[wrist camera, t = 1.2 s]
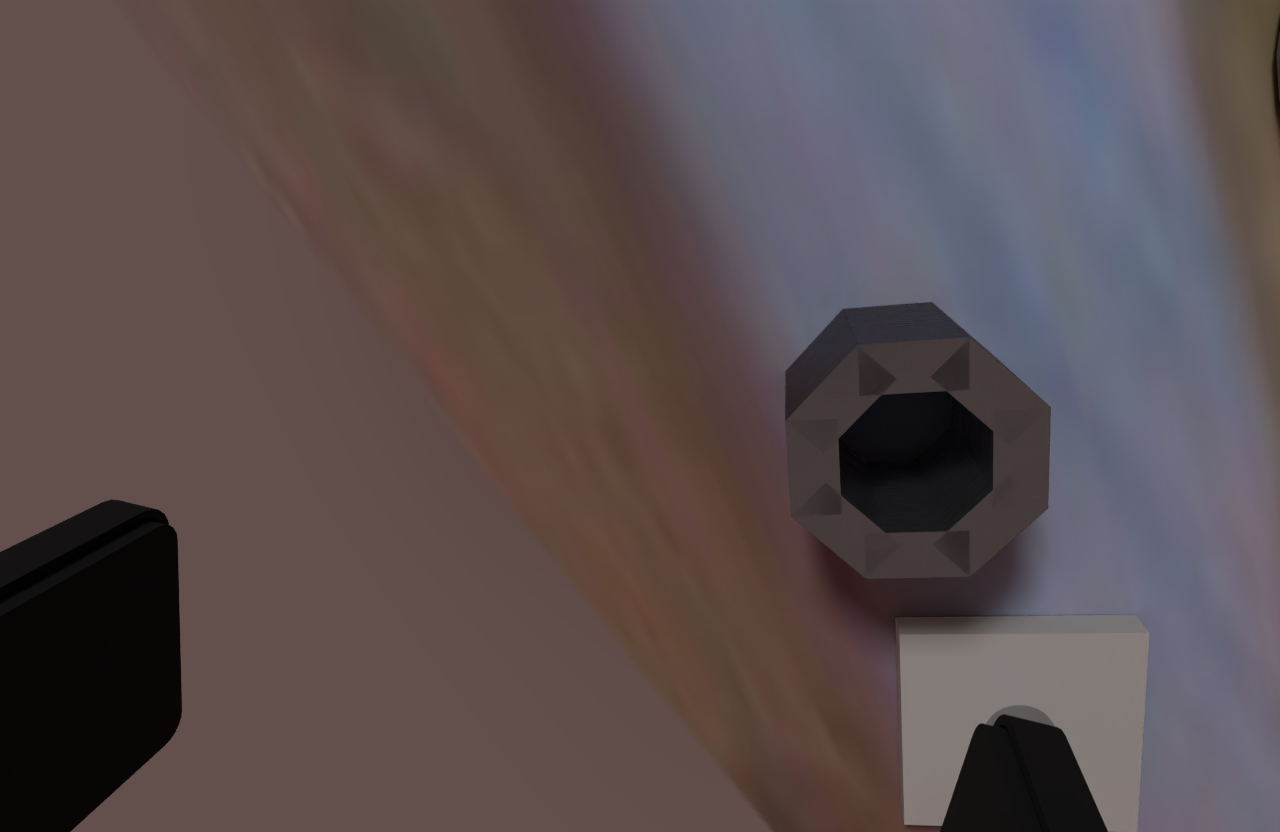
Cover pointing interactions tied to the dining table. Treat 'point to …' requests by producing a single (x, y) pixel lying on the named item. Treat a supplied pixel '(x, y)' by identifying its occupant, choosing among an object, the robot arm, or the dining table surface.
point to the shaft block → (1021, 700)
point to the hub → (942, 476)
